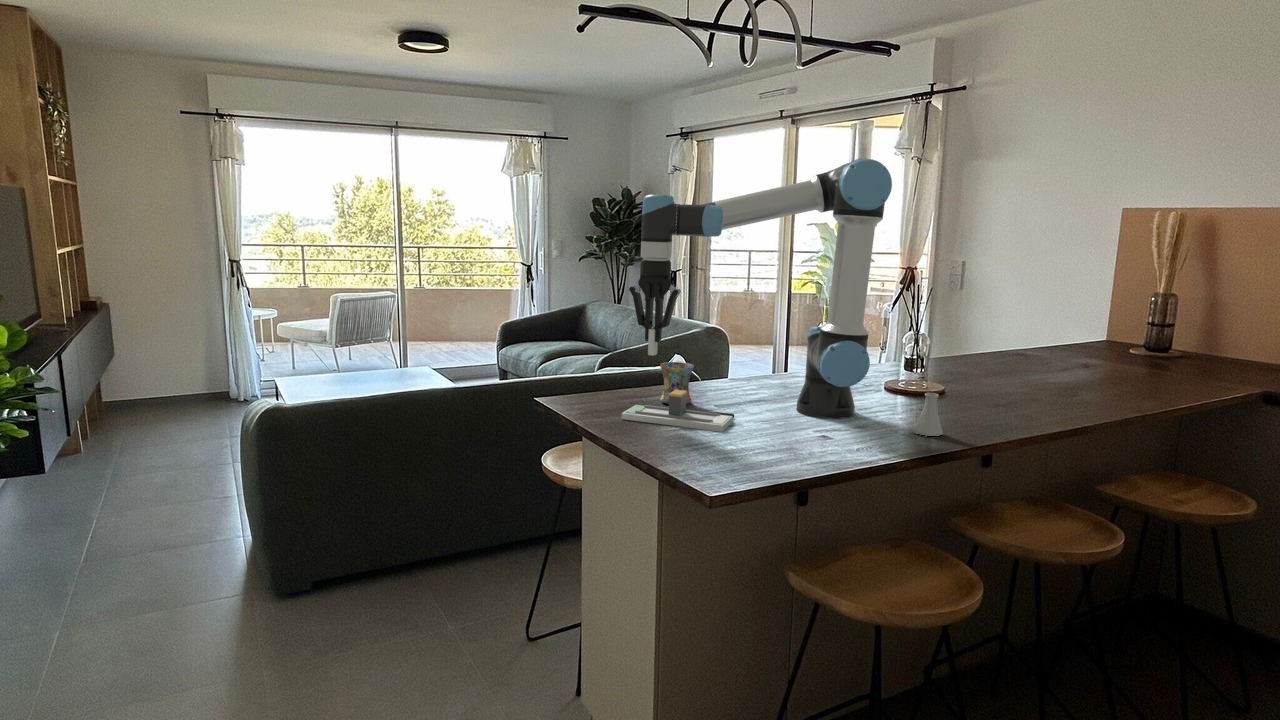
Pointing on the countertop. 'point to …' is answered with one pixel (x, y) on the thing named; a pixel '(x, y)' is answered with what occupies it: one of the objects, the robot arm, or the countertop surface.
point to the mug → (676, 378)
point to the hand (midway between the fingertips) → (652, 354)
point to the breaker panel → (678, 418)
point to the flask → (929, 418)
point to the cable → (713, 412)
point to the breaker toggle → (677, 402)
